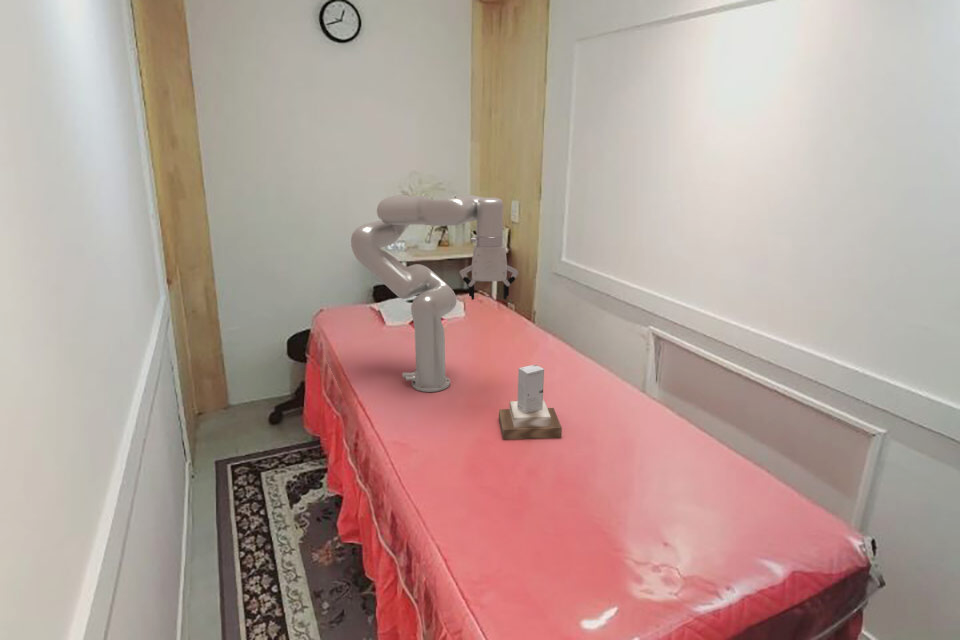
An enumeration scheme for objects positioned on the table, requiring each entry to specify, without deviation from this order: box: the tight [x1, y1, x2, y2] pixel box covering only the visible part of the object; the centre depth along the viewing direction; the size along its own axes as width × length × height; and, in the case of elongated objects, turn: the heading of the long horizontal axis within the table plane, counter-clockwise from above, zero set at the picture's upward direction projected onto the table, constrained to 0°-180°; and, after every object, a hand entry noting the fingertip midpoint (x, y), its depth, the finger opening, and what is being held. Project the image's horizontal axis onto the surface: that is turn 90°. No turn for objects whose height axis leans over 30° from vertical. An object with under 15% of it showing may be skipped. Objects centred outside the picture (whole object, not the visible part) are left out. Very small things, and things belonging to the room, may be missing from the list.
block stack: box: [498, 399, 563, 440], centre depth 164 cm, size 16×12×6 cm
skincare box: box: [517, 364, 545, 413], centre depth 161 cm, size 6×4×12 cm
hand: (488, 298), depth 174 cm, fingers open, 9 cm apart
